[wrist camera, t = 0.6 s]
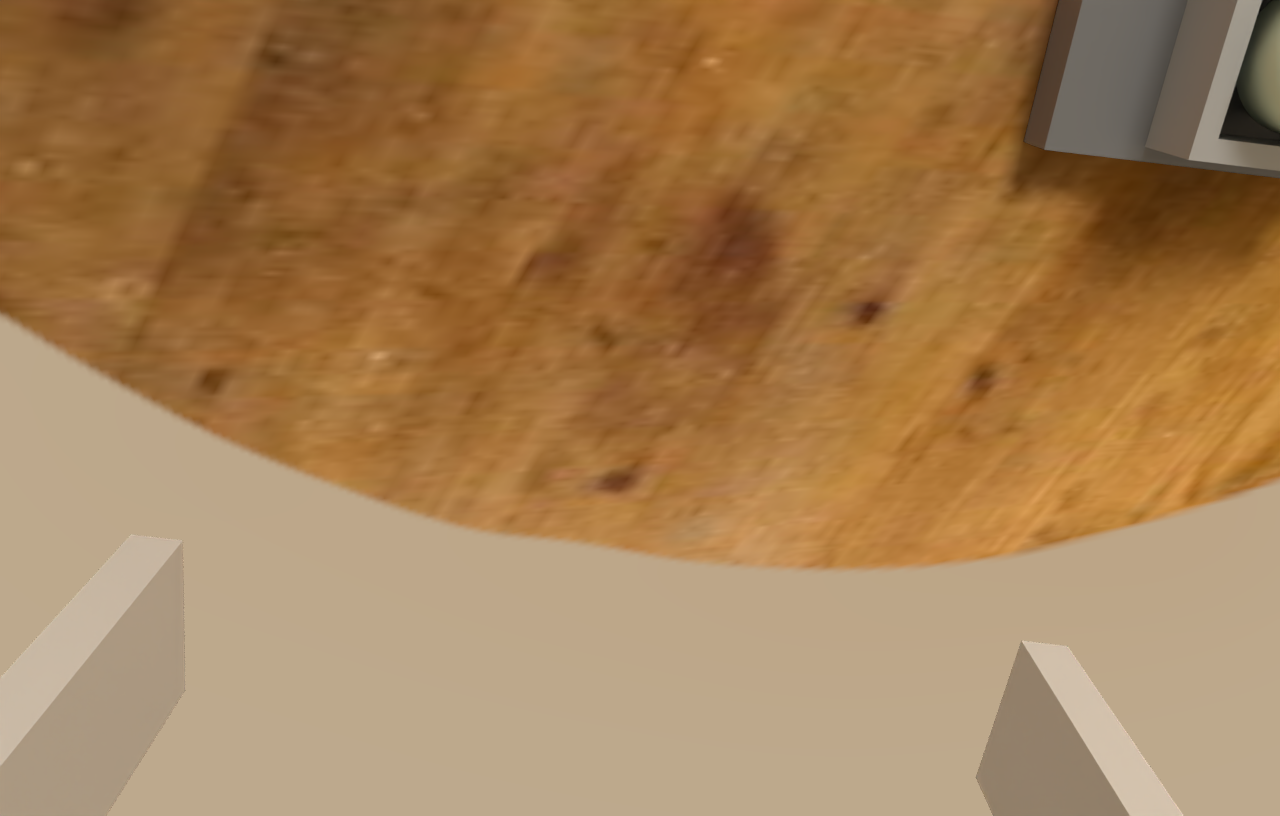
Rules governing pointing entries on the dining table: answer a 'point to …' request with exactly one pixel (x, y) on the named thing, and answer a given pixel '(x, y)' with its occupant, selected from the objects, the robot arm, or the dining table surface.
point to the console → (1152, 85)
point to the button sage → (1263, 69)
